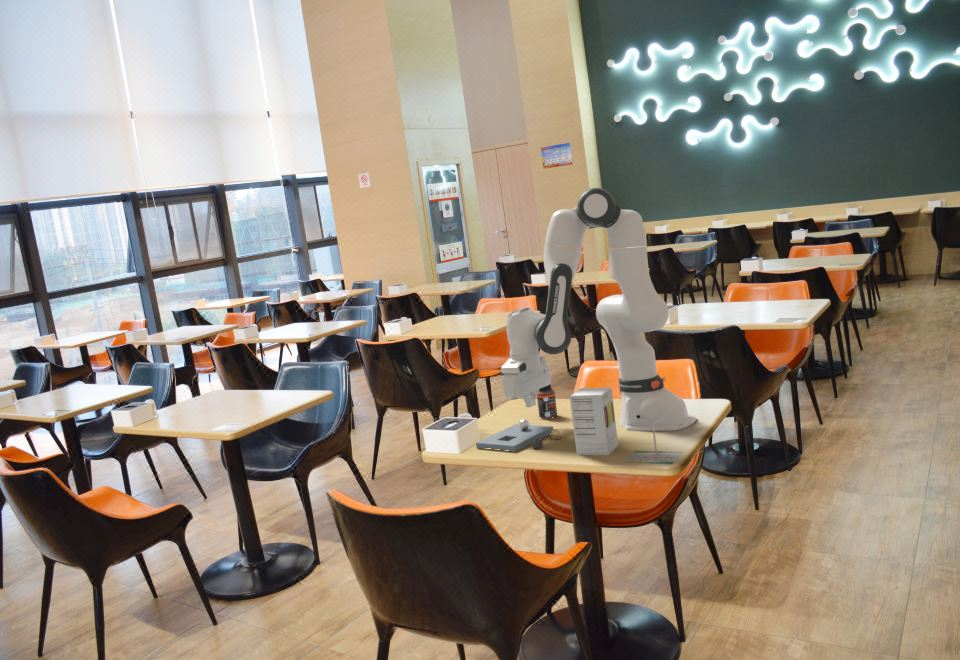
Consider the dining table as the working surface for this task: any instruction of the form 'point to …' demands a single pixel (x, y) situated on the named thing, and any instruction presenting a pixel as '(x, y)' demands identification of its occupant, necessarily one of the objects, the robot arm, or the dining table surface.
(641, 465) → the dining table surface
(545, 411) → the supplement bottle
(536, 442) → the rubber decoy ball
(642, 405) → the lollipop
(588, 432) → the supplement box
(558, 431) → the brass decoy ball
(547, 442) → the dining table surface
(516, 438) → the hole plate
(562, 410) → the dining table surface
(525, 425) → the steel ball
